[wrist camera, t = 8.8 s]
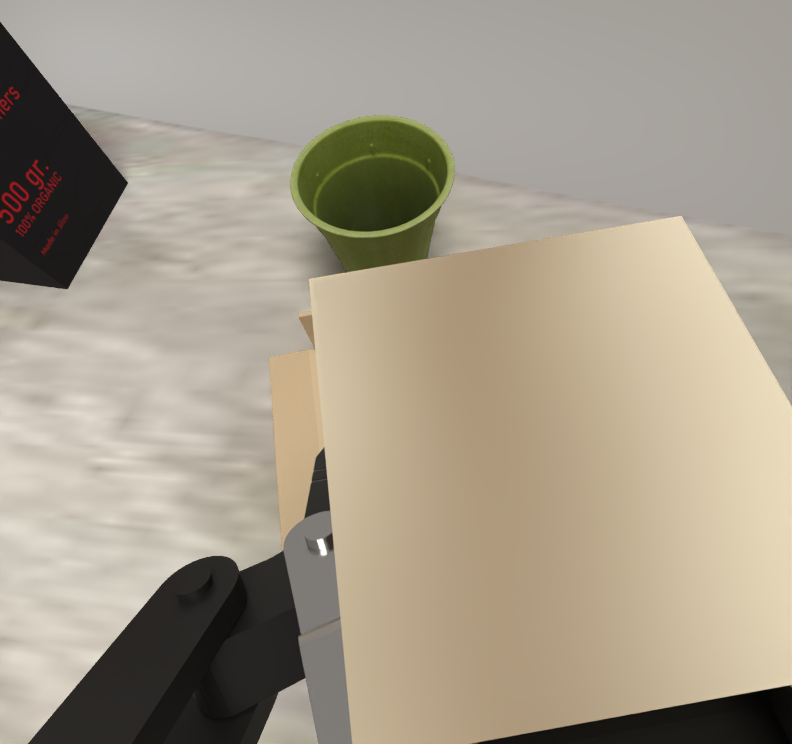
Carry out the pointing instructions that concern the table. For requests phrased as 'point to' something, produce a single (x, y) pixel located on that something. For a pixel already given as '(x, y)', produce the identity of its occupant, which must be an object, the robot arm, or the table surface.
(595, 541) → the walnut box
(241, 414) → the table surface
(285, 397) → the carton
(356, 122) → the plant pot
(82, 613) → the table surface
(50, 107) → the product box
